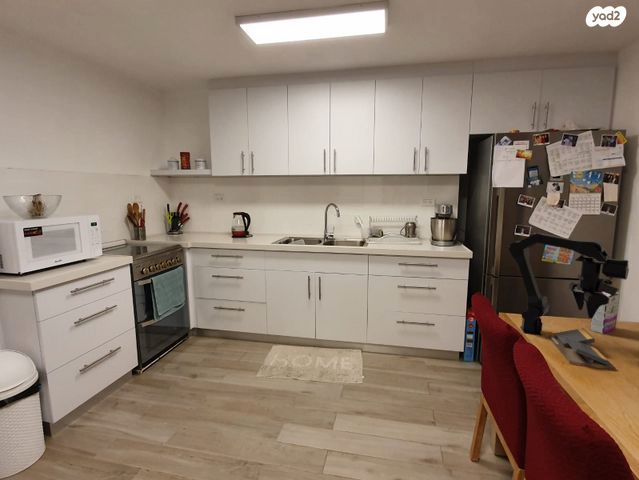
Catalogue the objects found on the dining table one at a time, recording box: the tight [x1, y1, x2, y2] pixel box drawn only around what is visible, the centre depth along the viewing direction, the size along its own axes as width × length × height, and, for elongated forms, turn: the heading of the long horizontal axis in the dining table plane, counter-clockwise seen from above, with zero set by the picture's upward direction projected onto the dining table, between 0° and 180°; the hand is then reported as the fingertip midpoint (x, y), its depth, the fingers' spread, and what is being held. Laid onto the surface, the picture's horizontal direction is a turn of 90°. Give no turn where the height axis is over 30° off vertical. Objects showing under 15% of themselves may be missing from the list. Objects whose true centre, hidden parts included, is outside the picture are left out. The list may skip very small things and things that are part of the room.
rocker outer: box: [565, 337, 610, 365], centre depth 119 cm, size 10×10×2 cm
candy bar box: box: [589, 291, 621, 335], centre depth 144 cm, size 11×5×16 cm, turn 118°
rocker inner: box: [554, 327, 596, 347], centre depth 129 cm, size 10×10×2 cm
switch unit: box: [548, 334, 616, 371], centre depth 125 cm, size 13×22×2 cm, turn 161°
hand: (585, 313), depth 128 cm, fingers open, 9 cm apart
